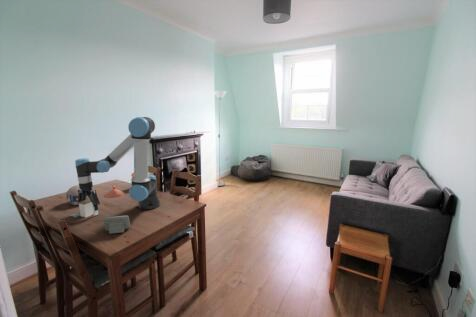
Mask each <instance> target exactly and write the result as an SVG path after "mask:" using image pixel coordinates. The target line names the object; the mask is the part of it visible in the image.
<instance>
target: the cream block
mask: <svg viewBox="0 0 476 317" xmlns="http://www.w3.org/2000/svg"><path fill="white" fill-rule="evenodd" d="M78 208H79V213H80V217H82V218H88V217H90V216H92V215H94V212H93V204H92V202H91V200H90V198H89V199H87V200H84V201H81V202H79V205H78Z"/></svg>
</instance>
